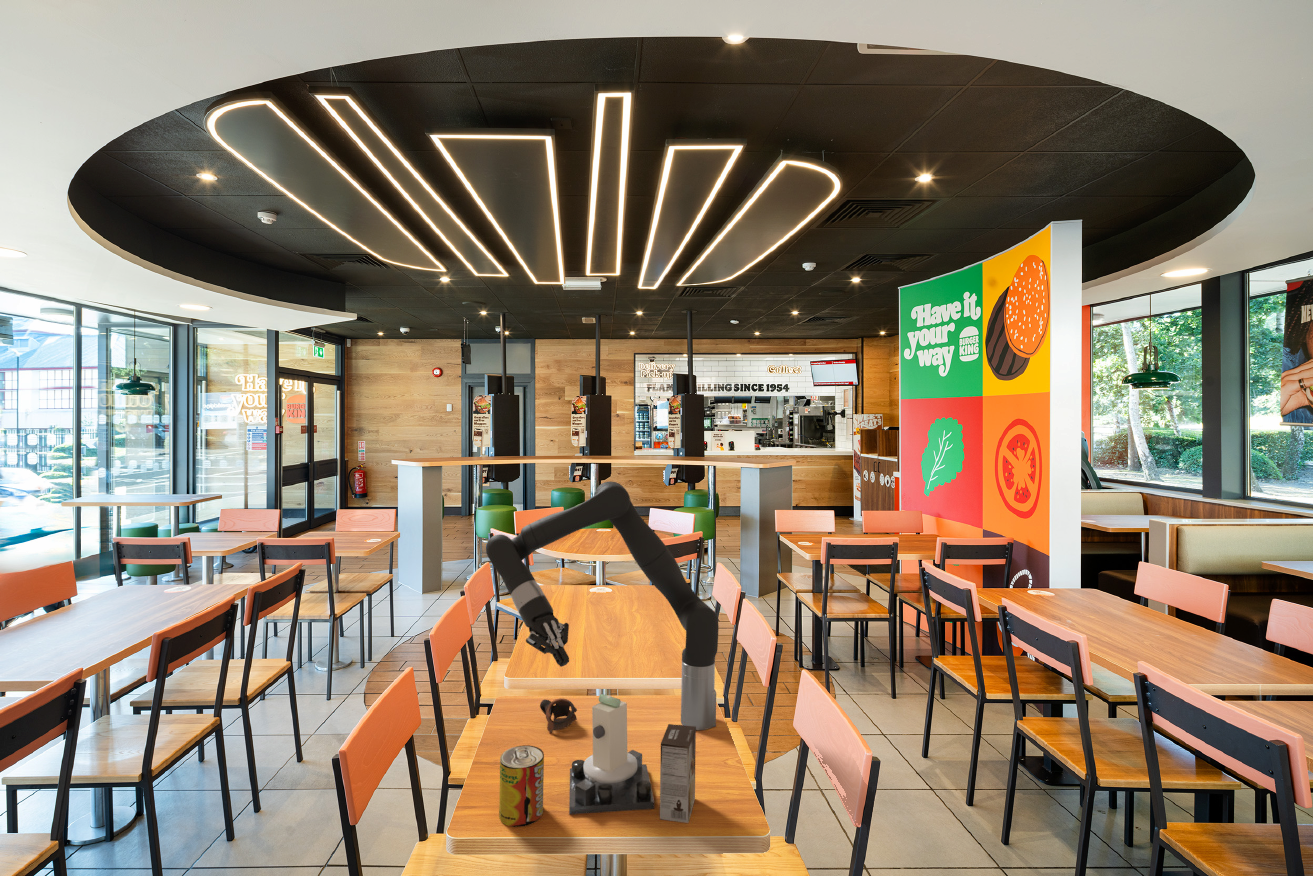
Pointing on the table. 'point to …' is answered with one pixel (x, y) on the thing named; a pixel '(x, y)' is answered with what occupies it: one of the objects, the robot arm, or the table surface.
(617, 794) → the base
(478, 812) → the table surface
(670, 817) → the coffee box
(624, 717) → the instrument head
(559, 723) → the brown hollow shell
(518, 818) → the beverage can
